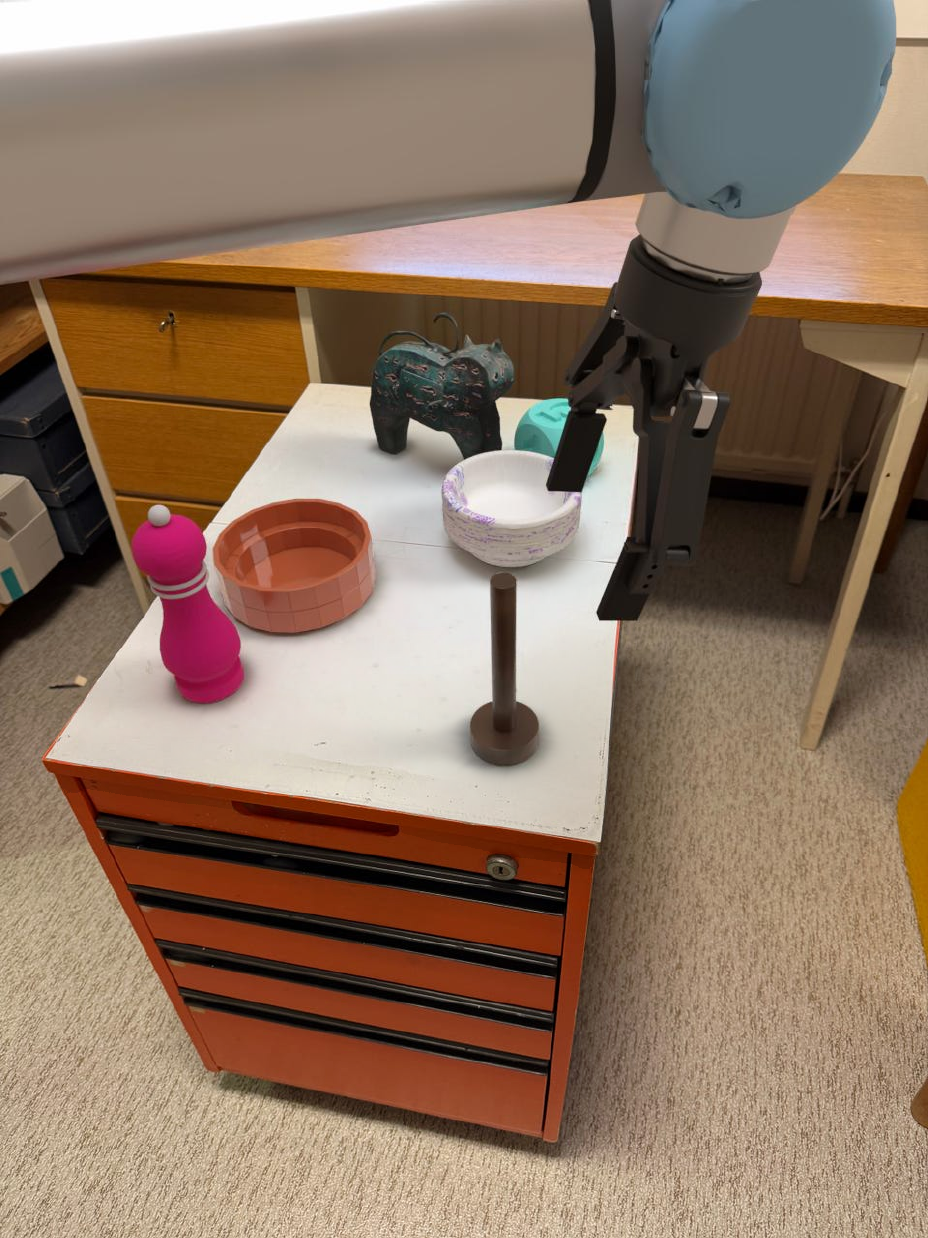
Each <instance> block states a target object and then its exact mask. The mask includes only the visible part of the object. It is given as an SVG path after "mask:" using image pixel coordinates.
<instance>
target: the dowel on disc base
mask: <svg viewBox="0 0 928 1238" xmlns="http://www.w3.org/2000/svg"><path fill="white" fill-rule="evenodd" d="M517 582H518V580H517V577H516V576H515V575H514V574H513V573H510V572H504V571H503V572H496V573H495V574H493V575H492V576H491V577H490V579H489V598H490V599H489V601H490V605H489V606H490V648H491V649H490V650H491V651H490V652H491V655H490V656H491V688H492V689H491V695H492V696H491V697H492V698H491V699H492V701H489V702H486V703H484V704H483V705H481V706H480V707H478V708H477V709H476V710H475V711H474V712H473V714H472V716H471V718H470V722H469V736H470V746H471V748H472V750H473V751H474V753H475V754H476V756H478V757H479V758H480V759H481V760H483V761H484V762H486V763H489V764H491V765H494V766H500V767H503V766H504V767H507V766H509V767H510V766H514V765H518V764H521V763H523V762H525V761H527V760H528V759H530V758H531V757H532V756H533V755H534V754H535V752H536V751H537V748H538V746H539V738H540V737H539V736H540V722H539V719H538V716H537V714H536V713H535V712H534V711H533V710H532V708H530V706H528V705H526V704H524V703H523V702H520V701H517V601H518V599H517V597H518V596H517V595H518V594H517V593H518V592H517V585H518V583H517Z"/></svg>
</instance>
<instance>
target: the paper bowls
mask: <svg viewBox="0 0 928 1238" xmlns="http://www.w3.org/2000/svg"><path fill="white" fill-rule="evenodd" d="M553 460H554V458H552V457H549V456H546V455H543V454H539V453H535V452H529V451H520V450H515V449H502V450H500V451H491V452H486V453H482V454H478V455H475V456H472V457H470V458H467V459H465V460H463V459H462V460H461V461H460V462H458V463H456V465H454V466H453V467H451V469H449V470H448V472H447V473H446V475H445V476H444V478H443V481H442V485H441V511H442V523H443V528H444V531H445V533H446V535H447V536H448V538H449V539H450V540H451V541H452V542H453V543H454V544H455V545H456V546H458V547H459V548H460V549H462V550H464V551H466V552H468V553H470V554H472V555H473V556H474V557H475V558H477V559H478V560H480V561H482V562H484V563H487V564H489V565H492V566H497V567H502V568H521V567H526V566H531V565H534V564H536V563H539V562H541V561H543V560H544V559H546V558H547V557H549V556H551V555H554V554H556V553H559V552H560V551H562V550H563V549H565V548H566V547H567V546H569V545H570V544H571V543H572V541H573V539H575V536H576V535H577V534H578V530H579V527H580V526H579V525H580V522H581V521H580V520H581V509H582V499H583V491H582V492H558V491H548V489H547V487H546V483H547V479H548V476H549V473H550V470H551V467H552V463H553Z"/></svg>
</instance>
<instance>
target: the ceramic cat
mask: <svg viewBox="0 0 928 1238" xmlns="http://www.w3.org/2000/svg"><path fill="white" fill-rule="evenodd" d="M440 318H445V319H447V320H449V321H450V322H451V323H452V324H453V326H454V327H455V330H456V344H455V349H452V350H450V349H448V348H447V347H445V346H444V345H441V344H439V343H435V342H430V341H429V340H427V339H426V338H425V337H424V336H422V335H420V334H418V333H416V332H414V331H407V330H396V331H392V332H390V333H389V334H387V335H386V336H385V337H384V338H383V340H382V342H381V344H380V347H379V352H378V356H379V357H378V358H377V359H376V362H375V363H374V365H373V368H372V373H371V379H370V398H369V409H370V415H371V418H372V425H373V430H374V434H375V437H376V443H377V446H378V448H379V449H380V450H382V451H383V452H386V453H389V454H391V455H398V454H399V453H400V452H402V451H404V450H405V449H406V448H407V446H408V445H407V441H408V430H409V425H410V421H411V420H413V421H415V422H417V423H419V424H421V425H423V426H425V427H427V428H429V429H430V430H433V431H434V432H439V433H440V432H444V433H447V434H448V435H450V437H451V438H452V440H453V441H454V443H455V444H456V446H457V448H458V449H459V451H460V454H461V455H462V461H463V460H465V459H467V458H470V457H472V456H475V455H478V454H482V453H486V452H491V451H500V450H503V439H502V436H501V417H500V412H499V410H498V407H497V402H496V401H498V400H499V399H500V398H501V397H502V396H504V395H505V394H507V393H508V392H509V391H510V390H511V389H512V387H513V384H514V381H515V369H514V368H515V367H514V363H513V362H512V360H511V358H510V357H509V356H508V354H506V352H505V351H504V349H503V345H502V344H503V343H502V341H501V340H500V338H497V339H495V340H494V341H493V342H492V343H491V344H488V343H480V344H474V343H473V341H472V340H471V337H470V336H469V335H468V334H466V335H465V337H464V339H463V343H462V344H463V345H462V347H461V349H460V332H459V331H460V330H459V326H458V324H457V323H458V322H457V321H456V320H455V319H454V317H453V316H452V315H450V314H449V313H448V312H442V313H439V314H438V315H436V316H435V317H434V319H433V323H434V324H436V322H437V321H438V320H439V319H440ZM395 336H413V337H415V338H417V339H419V340H421V341H420V342H418V341H412V340H408V341H407V340H406V341H404V342H400V343H398V344H395V345H393V346H392V347H391V348H389V349H388V350H386V351H384V352H383V349H384V346H385V345H386V343H387V342H388V341H389V340H390V339H392V338H393V337H395Z"/></svg>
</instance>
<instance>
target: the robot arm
mask: <svg viewBox="0 0 928 1238" xmlns="http://www.w3.org/2000/svg"><path fill="white" fill-rule="evenodd" d="M896 47H897V13H896V7H895V0H0V286H1V285H9V284H14V283H15V284H16V283H21V282H29V281H36V280H43V279H50V278H57V277H63V276H70V275H71V276H72V275H79V274H85V273H86V274H87V273H93V272H100V271H104V270H114V269H121V268H126V267H127V268H128V267H133V266H141V265H148V264H155V263H162V262H169V261H176V260H183V259H189V258H196V257H204V256H210V255H219V254H225V253H232V252H238V251H247V250H253V249H259V248H266V247H267V248H268V247H274V246H281V245H288V244H295V243H302V242H308V241H315V240H316V241H317V240H324V239H328V238H329V239H330V238H336V237H343V236H350V235H351V236H352V235H357V234H365V233H372V232H379V231H385V230H392V229H393V230H394V229H399V228H405V227H414V226H420V225H427V224H434V223H435V224H436V223H441V222H448V221H449V222H450V221H457V220H462V219H469V218H476V217H483V216H490V215H497V214H503V213H511V212H518V211H519V212H520V211H525V210H533V209H538V208H539V209H540V208H547V207H553V206H561V205H568V204H574V203H575V204H576V203H580V202H590V201H591V202H592V201H598V200H599V201H600V200H606V199H608V200H609V199H616V198H624V197H625V198H626V197H631V196H639V195H643V198H642V201H641V203H640V204H641V205H640V207H639V211H638V213H637V217H636V220H635V223H634V225H635V227H636V230H637V232H638V235H637V236H635V237H634V238H633V239H632V240H631V241H630V242H629V245H628V248H627V250H626V254H625V257H624V260H623V262H622V267H621V269H620V273H619V276H618V279H617V281H615V282H613V284H612V286H611V289H610V292H609V293H608V297H607V300H606V302H605V305H604V307H603V310H602V312H600V315H599V316H598V318H597V320H596V321H595V323H594V324H593V326H592V327H591V329H590V331H589V333H588V334H587V336H586V338H585V339H584V341H582V344H581V345H580V346H579V348H578V350H577V351H576V354H575V355H574V356H573V358H572V359H571V361H570V363H569V364H568V366H567V367H566V369H565V371H564V374H563V383H564V386H566V387H571V389H570V391H569V393H568V397H567V399H568V405H569V407H571V410H570V411H569V412H568V415H567V419H566V422H565V425H564V428H563V431H562V435H561V438H560V441H559V444H558V447H557V451H556V454H555V457H554V460H553V463H552V467H551V470H550V473H549V476H548V479H547V483H546V487H547V489H548V491H558V492H582V493H583V490H584V487H585V484H586V481H587V478H588V477H587V475H588V473H589V470H590V467H591V464H592V461H593V458H594V455H595V453H596V450H597V447H598V444H599V441H600V438H601V435H602V433H603V434H604V430H605V426H606V423H607V421H608V419H607V417H606V415H605V413H603V412H602V413H600V412H597V410H602V411H613V408H612V407H613V403H614V402H615V401H616V400H618V399H619V398H620V397H622V396H623V395H626V396H627V397H629V400H630V404H631V407H632V409H633V412H632V413H633V414H632V432H633V433H634V434H635V435H636V436H637V437H638V438H639V453H638V479H637V501H636V519H635V520H636V524H635V536H626V539H625V541H624V542H623V546H622V549H621V551H620V553H619V556H618V558H617V560H616V563H615V565H614V568H613V570H612V573H611V575H610V578H609V579H608V582H607V584H606V587H605V589H604V591H603V594H602V597H601V599H600V602H599V604H598V606H597V609H596V611H595V614H596V616H597V619H598V621H601V622H602V621H604V622H605V621H607V622H610V621H612V622H613V621H615V622H619V621H621V622H627V621H628V622H637V621H638V620H639V619H640V616H641V614H642V612H643V609H644V608H645V605H646V603H647V601H648V599H649V596H650V595H651V594H652V593H653V592H654V591H655V590H656V587H657V586H658V583H659V581H660V579H661V577H662V574H663V573H664V570H665V568H666V566H674V567H675V566H677V567H678V566H683V567H684V566H686V567H688V566H689V567H692V566H694V565H695V564H696V562H697V558H698V555H699V554H698V553H699V548H700V542H701V537H702V531H703V525H704V519H705V514H706V508H707V503H708V496H709V491H710V485H711V481H712V476H713V475H712V473H713V470H714V469H713V468H714V464H715V458H716V452H717V447H718V440H719V436H720V433H721V431H722V428H723V426H724V424H725V421H726V418H727V415H728V412H729V410H730V406H731V397H730V395H729V393H728V392H726V391H712V390H710V388H709V387H708V386H707V385H706V384H705V381H706V373H707V368H708V365H709V360H710V358H711V357H712V355H714V354H715V353H716V352H718V351H720V350H721V349H723V348H725V347H727V346H730V345H732V343H735V341H736V340H737V339H738V338H739V337H740V336H741V334H742V331H743V330H744V328H745V325H746V322H747V321H748V319H749V317H750V314H751V311H752V309H753V306H754V304H755V303H756V299H757V297H758V295H759V293H760V291H761V289H762V286H763V279H762V276H761V272H763V271H764V270H766V269H767V268H769V267H770V266H771V263H772V261H773V258H774V256H775V253H776V251H777V250H778V246H779V245H780V242H781V239H782V237H783V235H784V233H785V230H786V229H787V226H788V223H789V221H790V219H791V216H792V215H793V214H794V212H795V210H796V208H797V206H799V205H800V204H801V203H803V202H804V201H806V200H808V199H809V198H811V197H812V196H815V194H816V193H818V192H820V191H821V189H823V188H825V186H827V185H828V184H829V183H830V182H832V180H833V179H834V178H835V177H837V175H838V174H840V172H841V171H842V170H843V169H844V168H845V167H846V166H847V164H848V163H849V162H850V161H851V159H852V158H853V157H854V156H855V155H856V153H857V151H859V149H860V148H861V146H862V144H863V143H864V141H865V140H866V138H867V137H868V134H869V133H870V131H871V129H872V128H873V126H874V124H875V121H876V119H877V117H878V115H879V113H880V111H881V109H882V105H883V103H884V100H885V97H886V94H887V90H888V86H889V85H888V84H889V81H890V78H891V76H892V74H893V60H894V57H895V54H896ZM670 416H671V417H672V418H671V421H661V420H654V419H653V418H652V417H654V418H667V417H670Z"/></svg>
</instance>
